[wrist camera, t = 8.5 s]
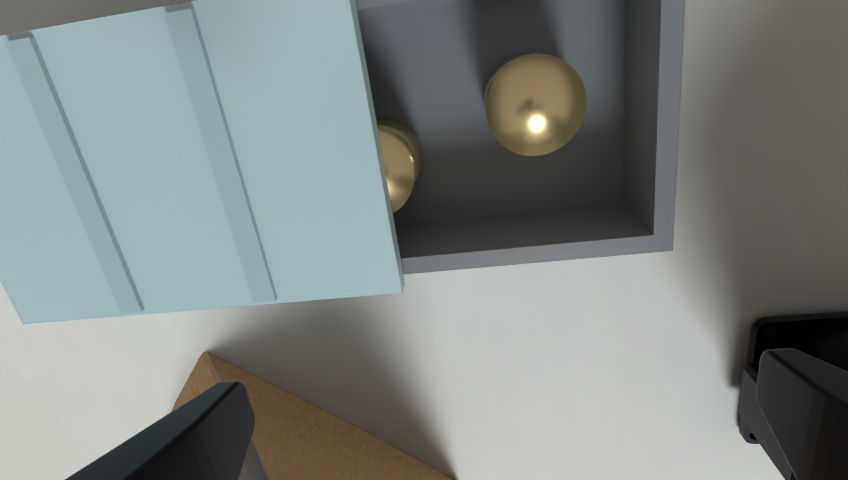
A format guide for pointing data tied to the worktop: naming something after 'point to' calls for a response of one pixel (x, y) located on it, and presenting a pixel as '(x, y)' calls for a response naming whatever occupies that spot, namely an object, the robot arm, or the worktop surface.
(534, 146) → the brass slug
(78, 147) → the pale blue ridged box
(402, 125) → the brass slug
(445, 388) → the worktop surface
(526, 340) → the worktop surface
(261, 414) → the sandwich container
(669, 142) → the tub
